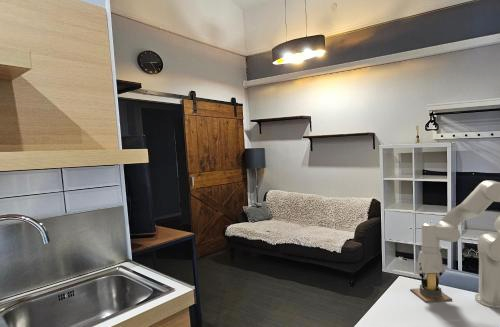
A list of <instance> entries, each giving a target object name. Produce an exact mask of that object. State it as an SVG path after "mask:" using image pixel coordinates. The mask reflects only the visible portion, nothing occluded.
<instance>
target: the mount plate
mask: <svg viewBox="0 0 500 327" xmlns="http://www.w3.org/2000/svg"><path fill="white" fill-rule="evenodd" d="M410 292H411V293H413V294H414V295H415V296H417V298H419V299H420V300H421V301H423V302H424V303H435V302H439V303H440V302H449V301H453V298H452V297H450V296H448V295H447V294H445V293H444V292H443V290H442V288H441V287H440V286H438V287H436V291H429V290H426V289H424V286H423V285H422V283H421V284H419V288H410Z"/></svg>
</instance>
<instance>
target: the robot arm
mask: <svg viewBox="0 0 500 327" xmlns="http://www.w3.org/2000/svg"><path fill="white" fill-rule="evenodd" d="M494 202H497V203H500V181H496V180H487V179H486V180H483V181H482V182H480V183H479V184H478V185H476V187H475V188H474V190H473V191H471V192H470V193H469V195H468V196H466V198H464V200H463V201H462V202H461V203H460V204H458V205H457V206H455V207H454V208H451V210H450V211H448V212H447V213H446V214H445V215H444V216H443V217H442V218H441V219H440V220H439V222H438V223H433V222H424V223H422V225H421V248H420V249H421V250H419V252H418V256H417V257H418V258H417V265H416V266H417V268H416V269H415V270H414V272H415V274H417V275H418V276H419V277H420V278H421V279H420V280H421V284H422V285H423V286H424V287H427V279H426V277H427V274H428V273H436V287H439V284H440V283H439V280H440V279H441V276H442V275H443V274H444V273H445V272H446V269H445V268H444V267H443V259H442V258H443V257H442V254H441V252H440V250H441V249H442V246H440V245H441V244H440V242H441V241H443V242H449V243H455V242H457V241H459V240H460V239H461V237H462V234H461V231H460V230H459V229H458V227H459V226H460V225H461V224H462V223H463V222H465V221H466V220H469V219H472V218H476V217H477V218H478V217H479V216H481V214H483V213H484V211H485V210H487V208H489V206H491V204H492V203H494ZM493 227H494V230H495V231H496V232H498V235H497V234H494V233H491V232H488V233H484V234H482V235H480V236H479V237H478V239H477V251H478V293H475V294H474V300H475V301H476V302H477V303H479V304H481V305H483V306H484V307H488V308H491V309H492V308H493V309H497V308H500V215H498V216H497V218H496V219H495V221H494V224H493Z"/></svg>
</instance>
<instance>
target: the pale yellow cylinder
mask: <svg viewBox="0 0 500 327" xmlns="http://www.w3.org/2000/svg"><path fill="white" fill-rule="evenodd" d="M426 279H427V287H424V289H426V290H429V291H436V273H428V274H427V277H426Z"/></svg>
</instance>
